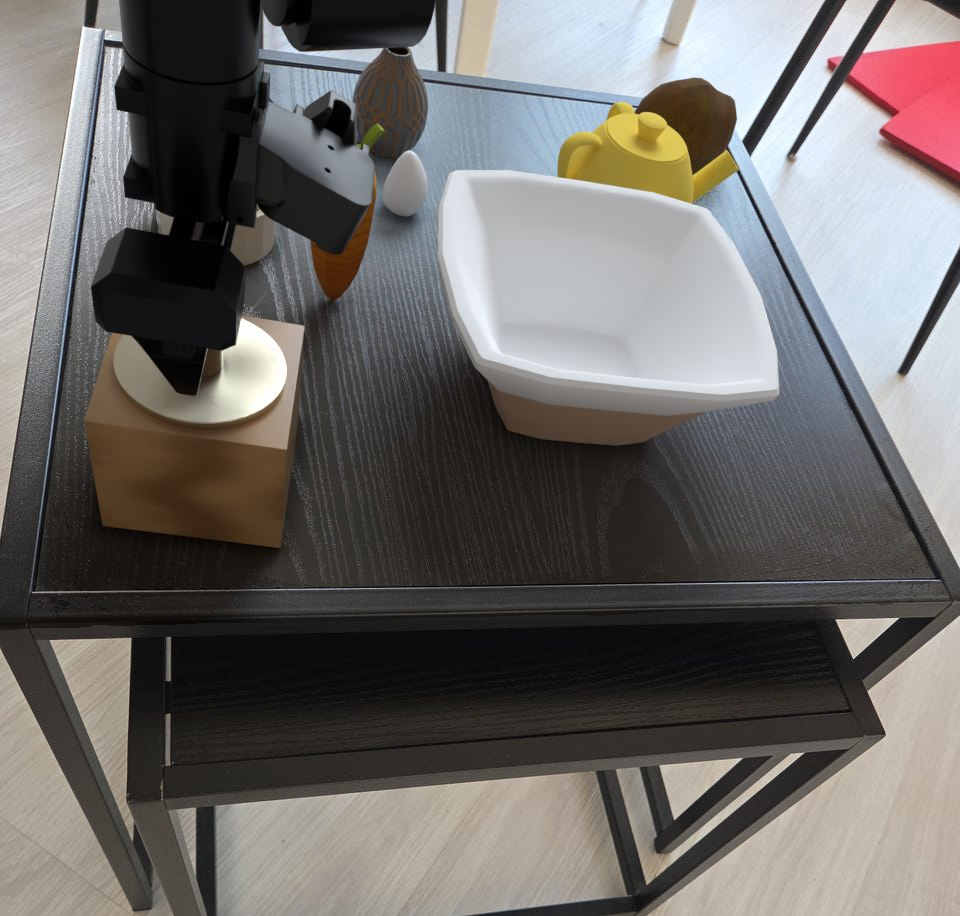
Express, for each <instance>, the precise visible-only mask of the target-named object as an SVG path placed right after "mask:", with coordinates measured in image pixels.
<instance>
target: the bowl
mask: <svg viewBox="0 0 960 916" xmlns="http://www.w3.org/2000/svg"><path fill="white" fill-rule="evenodd" d="M437 223H438V225H437V227H438V231H437V265H438V266H437V267H438V271H439V274H440V279H441V282H442V286H443V290H444V294H445V299H446V301H447V306H448V309H449V310H448V311H449V313H450V317H451V322H452V323H453V326H454V328H455V329H456V331H457V334H458V336H459V338H460V340H461V342H462V344H463V346H464V349H465V350H466V353H467V355H468V357H469V358H470V361H471V363H472V365H473V367H474V368H475V369H476V370H477V371H478V372H479V373H480V375H482V376H483V378H485V379H486V380H487V383H488V387H489V390H490V394H491V396H492V399H493V403H494V406H495V409H496V410H497V413H498V415H499V417H500V418H501V420H502V422H503V424H504V427H505V428H506V430H507V431H510V432H512V433H516V434H520V435H523V436H527V437H531V438H535V439H538V440H548V441H557V442H567V443H578V444H592V445H604V446H616V447H617V446H623V445H624V446H625V445H633V444H641V443H644V442H647V441H648V440H651V439H653V438H655V437H657V436H659V435H661V434H663V433H665V432H668V431H669V430H671V429H674V428H676V427H679V426H680V425H682V424H684V423H686V422H688V421H691V420H693V419H696V418H698V417H699V416H701V415H703V414H706V413H710V412H715V411H722V410H728V409H734V408H739V407H745V406H751V405H757V404H762V403H763V404H764V403H768V402H772V401H775V400H776V399H777V398H778V396H779V394H780V379H779V378H780V377H779V362H778V350H777V346H776V342H775V339H774V335H773V333H772V329H771V325H770V322H769V318H768V316H767V312H766V311H767V310H766V307H765V303H764V300H763V297H762V294H761V292H760V291H759V288H758V286H757V285H756V283H755V281H754V279H753V277H752V275H751V273H750V271H749V269H748V268H747V265H746V264H745V262H744V260H743V258H742V256H741V254H740V252H739V250H738V248H737V246H736V244H735V242H733V240H732V239H731V238H730V236H729V235H728V234H727V232H726V231H725V229H724V228H723V226H721V224H720V223H719V222H718V220H717V219H716V217H715V216H714V214H713V213H712V212H711V211H710V210H709V209H708V208H706V207H704V206H700V205H698V204H694V203H693V204H691V203H687V202H684V201H680V200H677V199H674V198H670V197H667V196H664V195H660V194H657V193H654V192H648V191H641V190H635V189H629V188H623V187H617V186H611V185H605V184H599V183H593V182H587V181H580V180H573V179H566V178H559V177H557V176H552V175H544V174H538V173H531V172H524V171H518V170H511V169H457V170H452V171H451V172H450V173H449V174H448V177H447V180H446V183H445V186H444V189H443V193H442V194H441V199H440V201H439V205H438V222H437Z"/></svg>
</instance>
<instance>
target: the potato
mask: <svg viewBox="0 0 960 916" xmlns="http://www.w3.org/2000/svg"><path fill="white" fill-rule="evenodd" d="M736 106H737V105H736V101H735V99H734V98H733V97H732V96H731V95H729V94H726V93H724V92H722V91H720V90H718V89H717V88H715V86H714V85H712V84H711V82H709V81H708V80H706V79H704V78H702V77H689V78H683V79H675V80H672V81H668V82H664V83H661V84H659V85H658V86H656V87H654V89H652V90H651V91H650V92H648V94H646V95H645V96H644V97H643V98H642V99H641V100H640V102H639V103H638V105H637V107H636V109H634V111H635V114H640V113H643V112H651V113H655V114H657V115H659V116H661V117H662V118H663V119H664V120H665V121H666V122H667V125H668V126H670V127H671V128H672V129H674V130H675V131H676V132H677V133H678V134H679V135H680V136H681V137H682V139H683V140H684V142H685V144H686V146H687V150H688V154H689V157H690V163H691V170H692V175H694V174H695V173H697V172H698V171H700V170H701V169H702V168H704V167H705V166H706V165H708V164H709V163H710V162H712V161H713V160H714V159H716V158H717V157H718V156H720V155H721V154H722V153H724V152H725V151H726V150H727V149H728V146H729V145H730V143H731V142H732V141H731V140H732V138H733V136H734V132H735V128H736V125H737V121H738V115H737V107H736Z"/></svg>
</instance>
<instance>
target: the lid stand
mask: <svg viewBox="0 0 960 916" xmlns="http://www.w3.org/2000/svg"><path fill="white" fill-rule="evenodd" d="M241 318H242V319H245V320H247V321H249V322H250V323H252V324H254V325H256V326H257V327H259V328H260V329H262V330H263V331H264V332H266V333H267V334H268V335H269V336H270V337H271V338H272V339H273V340H274V341H275V342H276V344H277V345H278V346H279V348H280V349H281V351H282V353H283V355H284V358H285V361H286V366H287V380H286V385H285V389H284V391H283V394H282V396H281V397H280V399H279V400H278V401H277V403H276V404H275V405H274V406H273V407H272V408H271V409H270V410H269V411H267V412H266V413H264V414H263V415H261V416H260V417H258V418H256V419H254V420H252V421H249V422H247V423H244V424H240V425H237V426H233V427H227V428H218V429H197V428H188V427H183V426H177V425H174V424H171V423H167V422H164V421H162V420H159V419H157V418H155V417H153V416H151V415H149V414H147V413H145V412H144V411H142V410H141V409H139V408H138V407H137V406H135V405H134V404H133V403H132V402H131V401H130V400H129V399H128V398H127V397H126V396H125V394H124V393H123V392H122V390H121V389H120V387H119V385H118V383H117V380H116V378H115V373H114V367H113V356H114V351H115V348H116V346H117V344H118V342H119V340H120V339H121V337H122V336H123V334H117V333H111V335H110V337H109V341H108V344H107V347H106V350H105V353H104V356H103V359H102V363H101V365H100V369H99V372H98V375H97V379H96V381H95V385H94V387H93V391H92V393H91V397H90V400H89V404H88V406H87V410H86V413H85V416H84V419H83V424H84V430H85V436H86V440H87V441H86V442H87V447H88V452H89V458H90V464H91V469H92V474H93V475H92V476H93V479H94V486H95V492H96V496H97V502H98V508H99V509H98V510H99V513H100V520H101V525H102V527H109V528H117V529H122V530H123V529H124V530H131V531H132V530H133V531H140V532H148V533H157V534H165V535H172V536H178V537H179V536H181V537H189V538H197V539H205V540H211V541H212V540H213V541H221V542H230V543H237V544H243V545H244V544H245V545H250V546H251V545H252V546H259V547H268V548H269V547H270V548H276V549H281V547H282V541H283V536H284V535H283V533H284V527H285V519H286V513H287V506H288V499H289V498H288V497H289V491H290V484H291V476H292V469H293V468H292V467H293V463H294V462H293V461H294V455H295V448H296V440H297V434H298V425H299V424H298V422H299V410H300V396H301V382H302V371H303V359H304V358H303V356H304V355H303V354H304V344H305V343H304V340H305V329H306V326H305V325H302V324H296V323H291V322H284V321H278V320H271V319H266V318H261V317H255V316H248V315H243V314H242V317H241Z"/></svg>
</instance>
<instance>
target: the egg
mask: <svg viewBox="0 0 960 916" xmlns="http://www.w3.org/2000/svg"><path fill="white" fill-rule="evenodd" d="M428 190H429V189H428V179H427V173H426V171H425V168H424V165H423V163H422V161H421V159H420V157H419V156H418V154H417V153H415V152H414V151H413V150H409V151H406V152H404V153H403V154H402V155H401V156H400V157H397V160H396V161H395V163H394V164H393V166H392V167H391V169H390V171H389V173H388V174H387V177H386V179H385V182H384V184H383V188H382V199H383V203H384V205H385V207H386V208H387V209H388V210H389V211H390V212H391V213H393V214H395V215H397V216H399V217H411V216H413V215H416V214H417V213H418V212H419V211H421V210H422V208H423V207H424V205H425V203H426V200H427V196H428Z"/></svg>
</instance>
